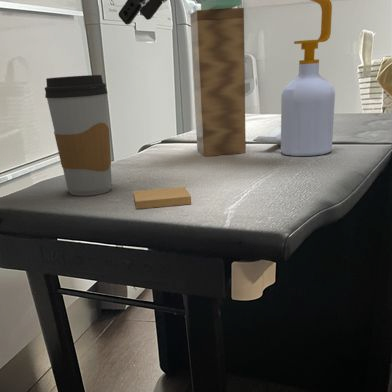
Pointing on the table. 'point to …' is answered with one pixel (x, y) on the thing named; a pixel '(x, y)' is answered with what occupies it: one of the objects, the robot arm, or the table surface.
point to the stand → (219, 80)
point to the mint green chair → (219, 4)
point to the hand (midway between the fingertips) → (134, 17)
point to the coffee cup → (81, 132)
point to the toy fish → (271, 137)
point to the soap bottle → (309, 101)
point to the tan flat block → (161, 197)
